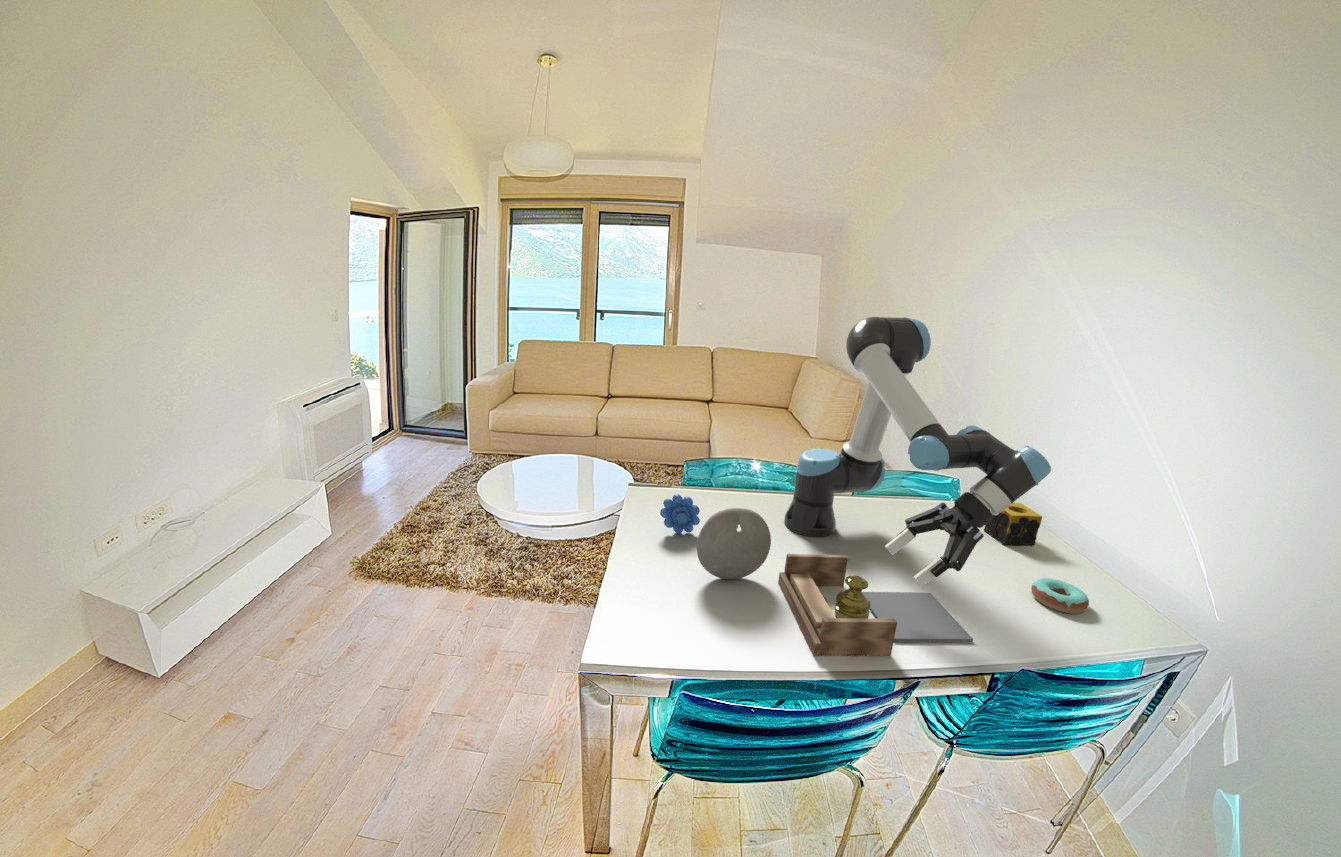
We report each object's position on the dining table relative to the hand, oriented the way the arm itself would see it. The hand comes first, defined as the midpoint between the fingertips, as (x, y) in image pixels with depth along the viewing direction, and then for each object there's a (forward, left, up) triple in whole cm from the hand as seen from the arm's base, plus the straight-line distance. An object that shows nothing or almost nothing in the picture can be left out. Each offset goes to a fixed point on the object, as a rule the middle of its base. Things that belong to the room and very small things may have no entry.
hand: (902, 565), depth 127 cm
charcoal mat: (+4, +4, -13) cm, 14 cm away
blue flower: (-60, +1, -14) cm, 61 cm away
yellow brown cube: (+16, +68, -14) cm, 72 cm away
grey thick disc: (-37, -10, -14) cm, 40 cm away
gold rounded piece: (-8, -6, -14) cm, 17 cm away
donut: (+30, +35, -14) cm, 49 cm away
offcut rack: (-12, -9, -13) cm, 20 cm away
